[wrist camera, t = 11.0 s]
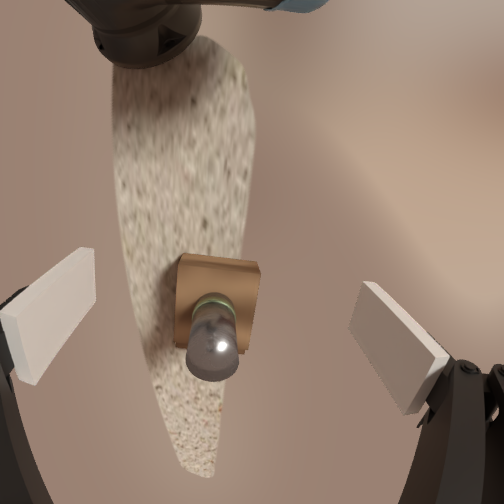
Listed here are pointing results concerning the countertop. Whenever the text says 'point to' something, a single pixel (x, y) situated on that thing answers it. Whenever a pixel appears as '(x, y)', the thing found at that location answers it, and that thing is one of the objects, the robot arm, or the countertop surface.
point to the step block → (216, 280)
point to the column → (213, 338)
